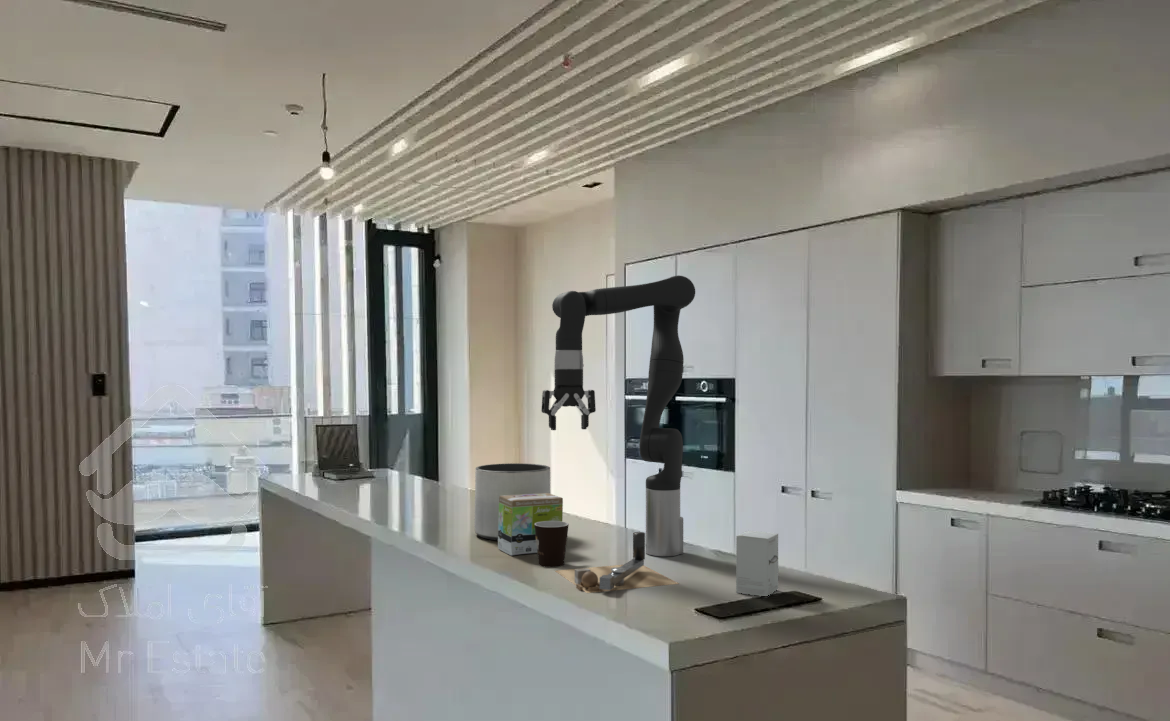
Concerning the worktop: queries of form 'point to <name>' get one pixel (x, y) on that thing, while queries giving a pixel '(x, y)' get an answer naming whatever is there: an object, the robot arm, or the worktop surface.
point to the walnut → (589, 579)
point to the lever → (628, 568)
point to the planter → (504, 490)
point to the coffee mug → (551, 542)
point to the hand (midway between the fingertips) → (568, 429)
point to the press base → (634, 580)
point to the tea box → (525, 520)
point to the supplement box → (756, 563)
